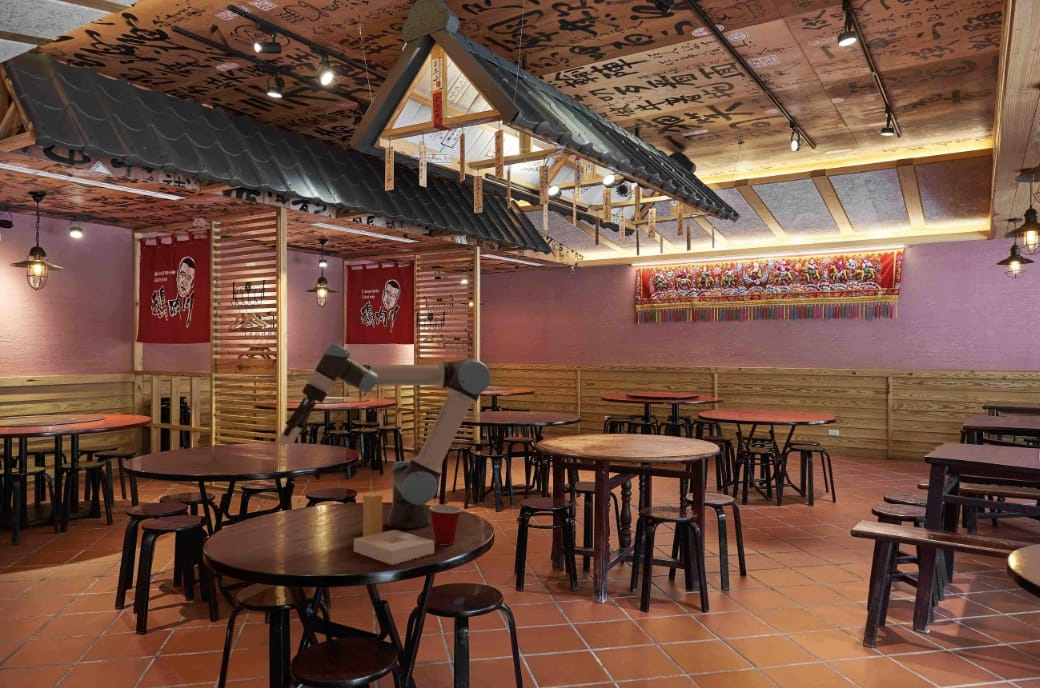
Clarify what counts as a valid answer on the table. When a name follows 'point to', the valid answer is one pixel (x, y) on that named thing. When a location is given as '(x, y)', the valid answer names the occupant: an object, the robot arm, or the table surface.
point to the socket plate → (393, 546)
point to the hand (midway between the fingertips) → (284, 444)
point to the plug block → (372, 514)
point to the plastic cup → (445, 522)
